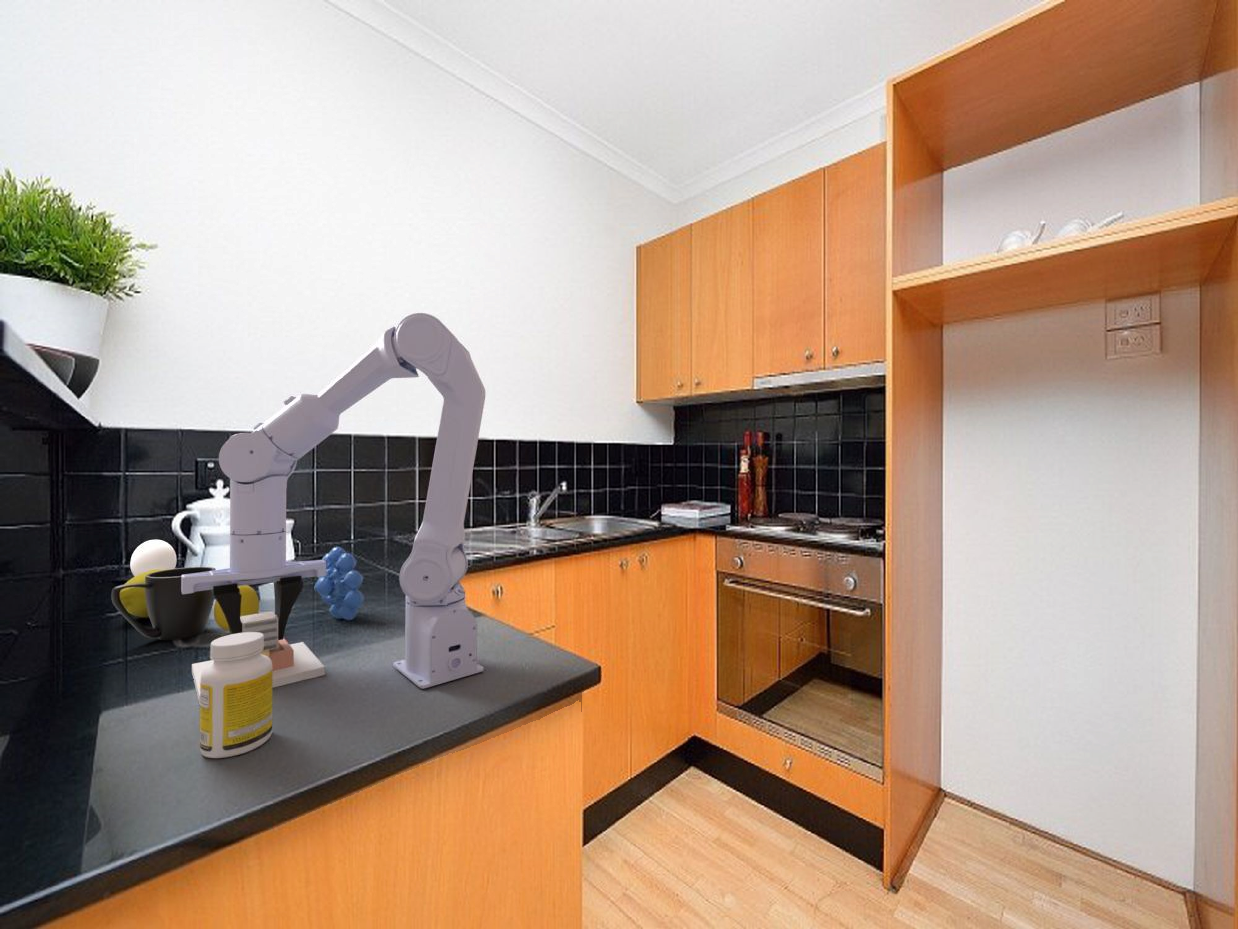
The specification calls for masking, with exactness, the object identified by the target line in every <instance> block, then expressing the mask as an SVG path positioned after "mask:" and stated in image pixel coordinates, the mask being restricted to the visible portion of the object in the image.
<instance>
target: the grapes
mask: <svg viewBox="0 0 1238 929" xmlns="http://www.w3.org/2000/svg"><path fill="white" fill-rule="evenodd" d="M321 560H323V561H325V562H326V576H323V577H317V581H316V582H315V583H314V584H315V585H314V588H313V589H314V591H316V592H317V593H318V595H320V596H321V600H322V601H323V602H324V603H325V604H327V605H328V606H330V608H329V611H328V612H329V613H330V614H331V615H332V616H333V617H335V618H336V619H338V620H340V619H344V620H346V621H351V620H353V619H355V618H356V616H357V615H358V612H359V609H360V607H361V606H362V604H363V601H364V599H365V596H364V594H363V593H362V592H361V591H360V590H359V588H361V585H362V583H363V580H364V577H363V575H362V574H361V573H360V572H359V571H358V570H356V569H355V567H356V565H357V562H358V561H357V559H356V558H355V557H354V556H353V555H352V554H351V553H349V552H346V551H345V549H344V548H342V547H340V546H334V547H333V548H331V550H330V551H329V552H328V553H326V554H325V555H323V557H322V559H321Z"/></svg>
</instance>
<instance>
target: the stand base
mask: <svg viewBox="0 0 1238 929" xmlns="http://www.w3.org/2000/svg"><path fill="white" fill-rule="evenodd" d="M261 654H262V655H265V656H267V657H269V658H270V659H271V661H272V668H273V688H277V687H280V686H281V687H282V686H285V685H289V684H294V683H298V682H301V681H305V680H310V679H314V678H318V677H322V676H325V673H326V667H325V665H324V664H323V663H322V662H321V660H320V659H319V658H318V657H317V656H316V655H315V654H314V652H313V651H311V650H310V648H309V647H308V646H307V645H306V644H305V642H304V641H301V642H296V643H291V644H289V643H288V641H287V640H286V639H285V637H284V638H283V640H278V651H277V652H272V653H269V650H268V649H267V650H263V651H262V652H261ZM212 663H214V660H212V659H210V660H206V661H202V662H201V661H200V662H196V663H192V664H191V675H192V678H193V679H194V680H193V683H194V687H195V692H197V693H196V697H197V702H198V701H199V702H198V705H200V680H201V674H202V672H203V671H204V669H205V668H206V667H208V666H209V665H211V664H212Z"/></svg>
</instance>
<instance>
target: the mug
mask: <svg viewBox="0 0 1238 929" xmlns="http://www.w3.org/2000/svg"><path fill="white" fill-rule="evenodd" d="M214 570H217V569H216V568H215V567H212V566H211V567H210V566H190V567H187V566H185V567H178V568H177V567H175V569H169V570H163V571H157V572H153V573H150V574H148V575H146V576H145V583H137V584H126V585H124V584H120V585H118V586H115V587H113V588H112V590H111V595H110V597H111V602H112V604H113V606H114V607H115V609H116V610H117V611H118V612H119V613H120V614H121V615H122V616H123V617H124V619H125V620H126V621H128V623H129V624H130V625H131V626H132V627H133V628H134V629H135V630H136V631H137V632H139V633H140V634H141V635H142V636H144V637H146V638H148V639H158V640H160V641H174V640H182V639H187V638H192V637H195V636H198V635H201V634H203V633H204V632H205V631H206V627H207V623H208V621H209V619H210V615H211V613H212V609H213V607H214V603H215V597H214V595H213V593H212V591H211V590H203V591H195V592H194V593H189V594H182V591H181V575H185V574H193V573H201V572H207V571H214ZM128 587H141V588H145V600H146V606H147V610H148V614H149V618H148V619H149V620H150V621H149V622H150V623H151V626H152V627H146V626H144V625H142V624H141V623H139V622H138V621H137V620H136V619H135V618H134V617H133V616H132V614H130V613H128V612H127V610H126V609H125V608H124V606H123V604H122V602H121V600H120V591H121V590H122V589H124V588H128Z"/></svg>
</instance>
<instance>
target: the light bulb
mask: <svg viewBox="0 0 1238 929" xmlns="http://www.w3.org/2000/svg"><path fill="white" fill-rule="evenodd" d="M177 560H178V559H177V554H176V551H175V549H174V548H173V546H172V545H171V544H169V543H168V542H166V541H164V540H161V539H150V540H146V541H144V542H143V543H141V544H140V545H138V546H137V547H136V548H135V550H134V551H133V553H132V554H131V558H130V562H129V563H130V564H129V566H130V570H131V573H132V575H133V577H135V576H137V575H139V574H142V573H144V572H148V571H152V570H158V569H176V565H177Z"/></svg>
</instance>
